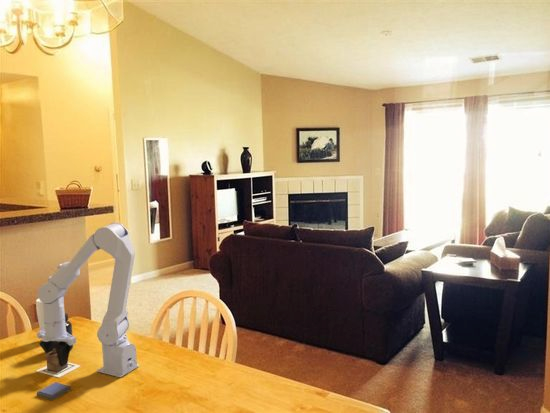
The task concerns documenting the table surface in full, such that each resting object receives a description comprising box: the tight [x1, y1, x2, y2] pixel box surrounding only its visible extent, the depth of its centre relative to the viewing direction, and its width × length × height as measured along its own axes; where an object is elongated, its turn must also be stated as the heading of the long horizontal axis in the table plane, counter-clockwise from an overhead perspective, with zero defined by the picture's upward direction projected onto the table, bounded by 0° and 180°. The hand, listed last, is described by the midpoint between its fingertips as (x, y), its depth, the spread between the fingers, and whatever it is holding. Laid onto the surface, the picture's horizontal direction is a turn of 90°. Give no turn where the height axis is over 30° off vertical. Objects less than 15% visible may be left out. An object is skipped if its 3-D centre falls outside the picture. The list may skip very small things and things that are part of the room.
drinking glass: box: [35, 298, 45, 341], centre depth 162 cm, size 7×7×15 cm
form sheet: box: [35, 361, 82, 379], centre depth 141 cm, size 10×8×1 cm
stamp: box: [45, 348, 69, 373], centre depth 140 cm, size 4×4×6 cm
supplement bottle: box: [58, 312, 74, 352], centre depth 154 cm, size 7×7×12 cm
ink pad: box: [36, 381, 72, 401], centre depth 127 cm, size 6×6×1 cm
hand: (58, 363), depth 141 cm, fingers closed on stamp, 4 cm apart
